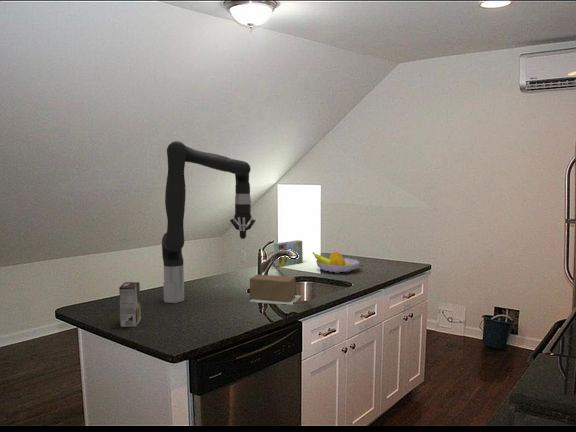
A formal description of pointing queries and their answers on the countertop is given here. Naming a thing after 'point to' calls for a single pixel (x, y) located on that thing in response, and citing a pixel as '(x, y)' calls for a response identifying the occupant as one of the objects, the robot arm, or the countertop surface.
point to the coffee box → (130, 304)
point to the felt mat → (276, 301)
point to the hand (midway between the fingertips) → (243, 238)
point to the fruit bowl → (336, 263)
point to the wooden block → (272, 288)
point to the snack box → (293, 246)
